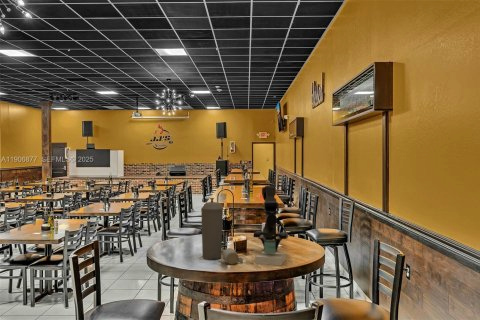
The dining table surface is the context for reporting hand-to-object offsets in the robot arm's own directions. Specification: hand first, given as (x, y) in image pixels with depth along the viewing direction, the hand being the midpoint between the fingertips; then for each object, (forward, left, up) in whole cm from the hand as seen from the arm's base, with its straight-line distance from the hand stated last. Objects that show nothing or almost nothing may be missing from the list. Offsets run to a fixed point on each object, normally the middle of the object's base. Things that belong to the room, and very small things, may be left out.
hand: (270, 250), depth 241 cm
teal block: (0, 0, -1) cm, 1 cm away
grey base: (0, 0, -6) cm, 7 cm away
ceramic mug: (+9, -19, -7) cm, 22 cm away
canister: (+1, -35, -7) cm, 36 cm away
